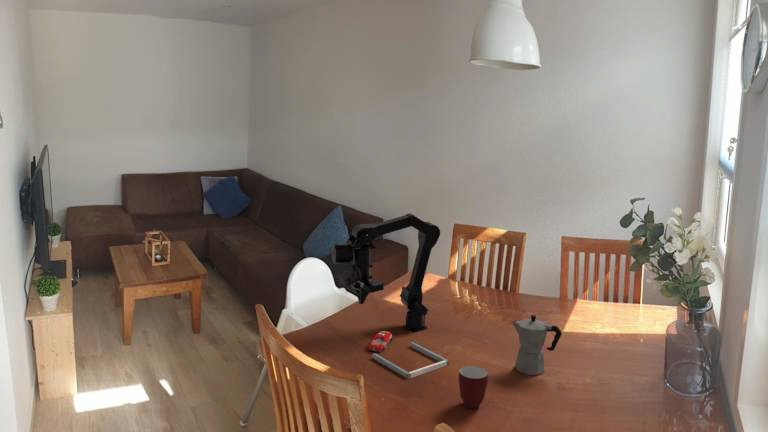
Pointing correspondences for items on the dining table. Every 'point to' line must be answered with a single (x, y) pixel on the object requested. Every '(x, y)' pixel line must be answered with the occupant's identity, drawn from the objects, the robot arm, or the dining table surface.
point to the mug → (473, 385)
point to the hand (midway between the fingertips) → (361, 303)
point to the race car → (380, 341)
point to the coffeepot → (533, 344)
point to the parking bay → (417, 372)
